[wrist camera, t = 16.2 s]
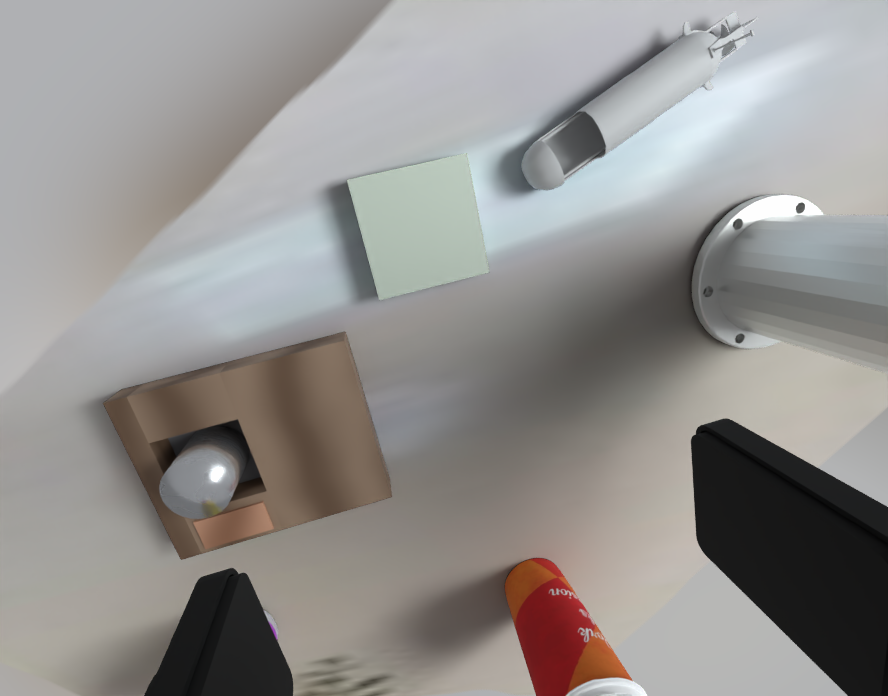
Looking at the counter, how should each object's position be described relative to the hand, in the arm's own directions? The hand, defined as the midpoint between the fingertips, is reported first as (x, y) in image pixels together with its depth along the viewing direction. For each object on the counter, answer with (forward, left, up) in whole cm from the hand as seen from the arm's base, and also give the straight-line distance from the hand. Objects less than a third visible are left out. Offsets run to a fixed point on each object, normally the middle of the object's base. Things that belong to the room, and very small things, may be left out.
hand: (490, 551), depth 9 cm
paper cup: (-6, +29, -26) cm, 40 cm away
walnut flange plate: (+12, +8, -26) cm, 30 cm away
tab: (-3, -5, -26) cm, 27 cm away
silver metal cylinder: (+16, +8, -26) cm, 31 cm away
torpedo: (-19, -10, -27) cm, 34 cm away
